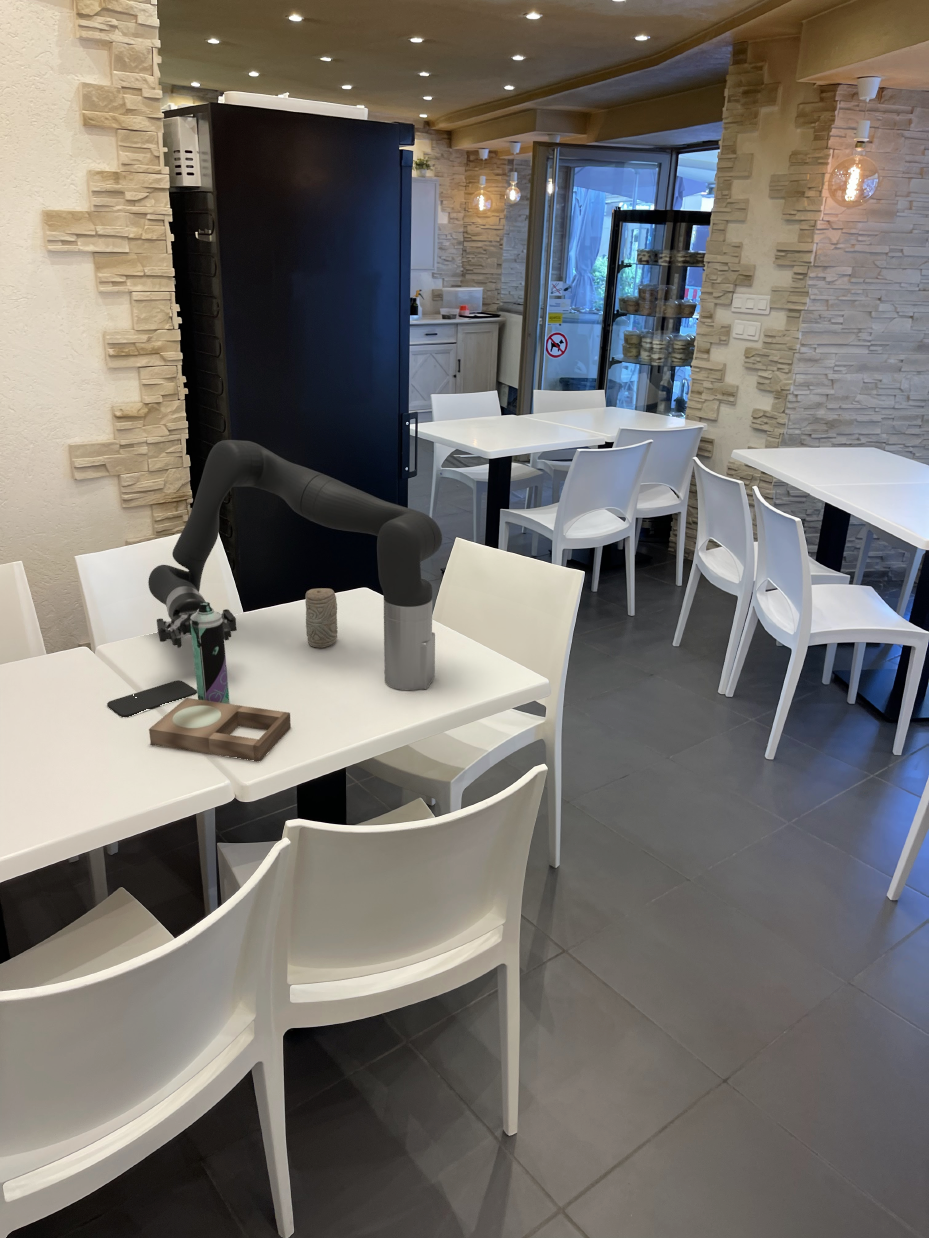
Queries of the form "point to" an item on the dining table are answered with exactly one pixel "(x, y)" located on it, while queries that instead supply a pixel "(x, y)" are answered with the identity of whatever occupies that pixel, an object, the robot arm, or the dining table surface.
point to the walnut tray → (219, 729)
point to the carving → (321, 617)
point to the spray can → (209, 655)
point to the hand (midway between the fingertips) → (203, 638)
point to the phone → (151, 698)
